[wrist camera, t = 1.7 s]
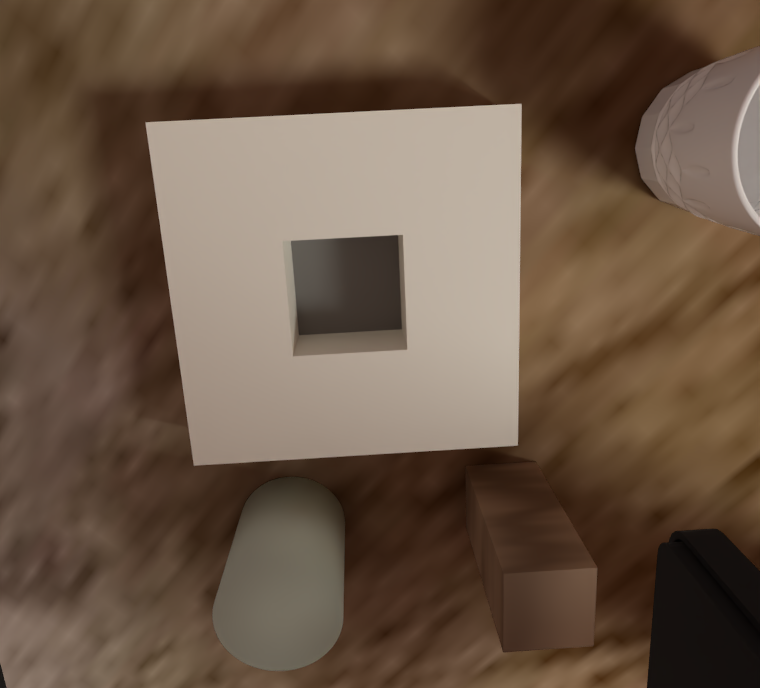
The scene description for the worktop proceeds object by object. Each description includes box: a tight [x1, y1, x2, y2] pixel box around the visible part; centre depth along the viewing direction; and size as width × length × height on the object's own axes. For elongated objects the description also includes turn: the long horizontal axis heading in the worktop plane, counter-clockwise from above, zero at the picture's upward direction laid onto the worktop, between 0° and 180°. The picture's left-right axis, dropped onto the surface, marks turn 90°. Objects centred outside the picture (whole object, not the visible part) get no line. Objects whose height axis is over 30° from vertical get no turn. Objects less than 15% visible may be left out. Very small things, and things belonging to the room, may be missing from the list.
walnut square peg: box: [465, 461, 597, 652], centre depth 34 cm, size 4×4×10 cm
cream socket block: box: [145, 104, 522, 466], centre depth 33 cm, size 16×16×4 cm
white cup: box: [635, 46, 760, 236], centre depth 28 cm, size 8×8×10 cm
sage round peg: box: [212, 477, 345, 671], centre depth 35 cm, size 6×6×8 cm
